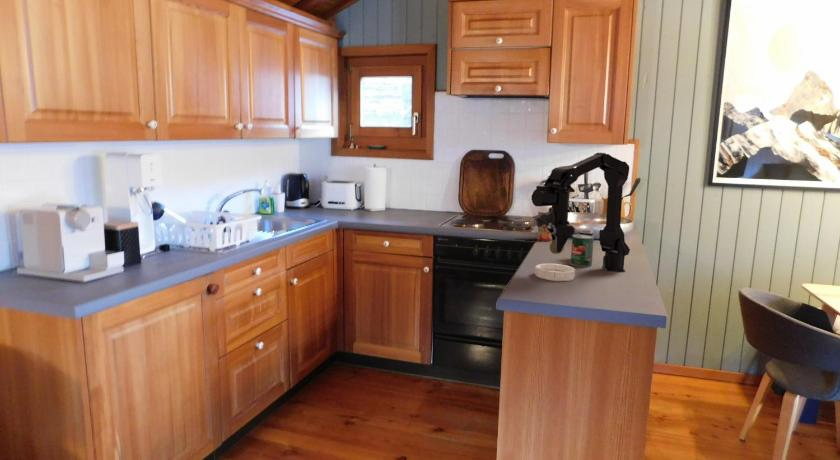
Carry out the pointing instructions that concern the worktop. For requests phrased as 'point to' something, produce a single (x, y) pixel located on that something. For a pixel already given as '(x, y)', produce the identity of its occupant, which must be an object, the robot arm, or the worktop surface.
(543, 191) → the robot arm
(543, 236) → the smoothie
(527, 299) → the worktop surface
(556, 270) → the ceramic dish
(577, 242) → the canned tomato
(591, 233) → the beverage can
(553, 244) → the lime
